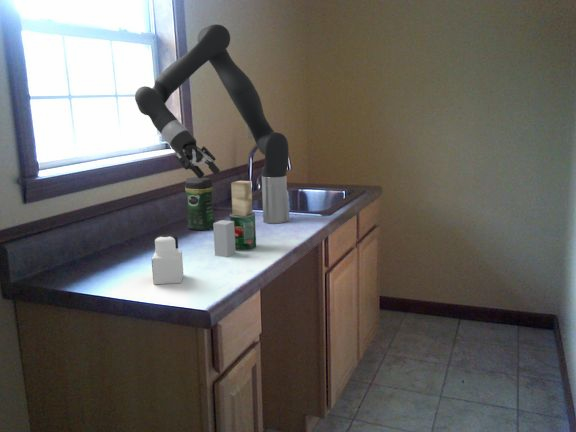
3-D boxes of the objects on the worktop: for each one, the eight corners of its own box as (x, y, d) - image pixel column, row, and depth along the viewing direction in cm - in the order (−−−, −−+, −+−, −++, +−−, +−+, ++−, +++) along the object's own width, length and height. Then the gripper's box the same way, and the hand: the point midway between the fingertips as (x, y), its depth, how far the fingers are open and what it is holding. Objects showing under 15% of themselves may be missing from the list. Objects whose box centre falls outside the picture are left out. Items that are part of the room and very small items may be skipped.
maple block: (240, 211, 183) (238, 180, 181) (252, 212, 181) (251, 181, 179) (232, 214, 180) (231, 182, 177) (245, 215, 178) (243, 183, 175)
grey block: (223, 251, 179) (221, 220, 177) (235, 253, 177) (234, 221, 175) (214, 255, 175) (213, 223, 173) (227, 257, 173) (225, 224, 171)
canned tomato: (261, 246, 184) (259, 212, 182) (248, 252, 178) (246, 217, 175) (240, 243, 188) (238, 210, 186) (226, 249, 181) (224, 215, 179)
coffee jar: (218, 227, 211) (216, 176, 207) (205, 231, 205) (202, 179, 201) (197, 224, 216) (194, 175, 212) (184, 229, 209) (180, 178, 205)
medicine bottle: (157, 276, 157) (153, 233, 154) (183, 274, 158) (180, 232, 155) (153, 284, 150) (149, 240, 147) (181, 283, 151) (178, 238, 148)
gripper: (170, 131, 178) (203, 169, 175) (198, 127, 190) (229, 164, 187) (158, 148, 181) (190, 186, 179) (185, 143, 194) (216, 179, 191)
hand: (210, 174), depth 183 cm, fingers open, 8 cm apart
